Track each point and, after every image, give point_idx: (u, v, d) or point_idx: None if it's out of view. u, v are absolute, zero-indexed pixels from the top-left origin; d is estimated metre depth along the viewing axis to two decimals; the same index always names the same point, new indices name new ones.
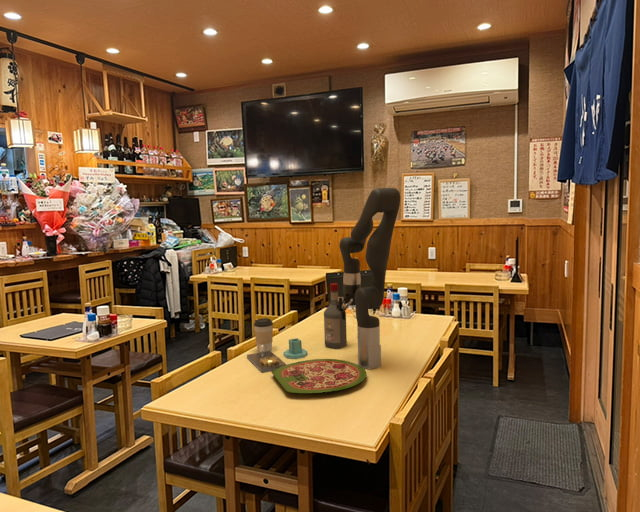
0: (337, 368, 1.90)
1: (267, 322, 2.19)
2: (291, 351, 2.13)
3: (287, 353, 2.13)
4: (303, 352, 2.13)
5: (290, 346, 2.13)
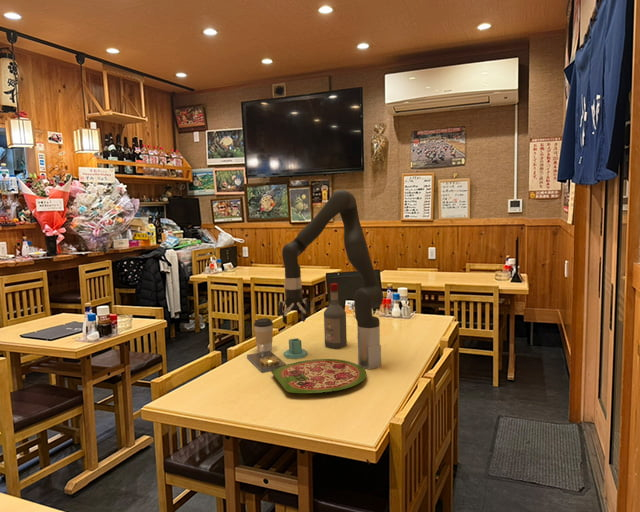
0: (337, 368, 1.90)
1: (267, 322, 2.19)
2: (291, 351, 2.13)
3: (287, 353, 2.13)
4: (303, 352, 2.13)
5: (290, 346, 2.13)
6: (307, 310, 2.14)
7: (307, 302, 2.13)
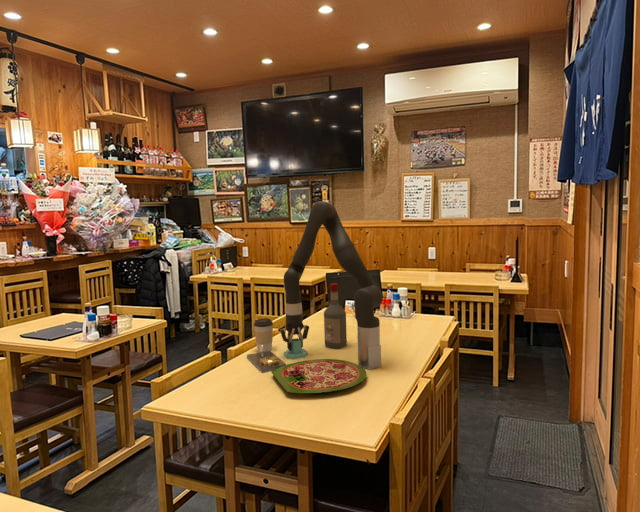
0: (337, 368, 1.90)
1: (267, 322, 2.19)
2: (291, 351, 2.13)
3: (287, 353, 2.13)
4: (303, 352, 2.13)
5: None
6: (304, 337, 2.14)
7: (307, 329, 2.15)
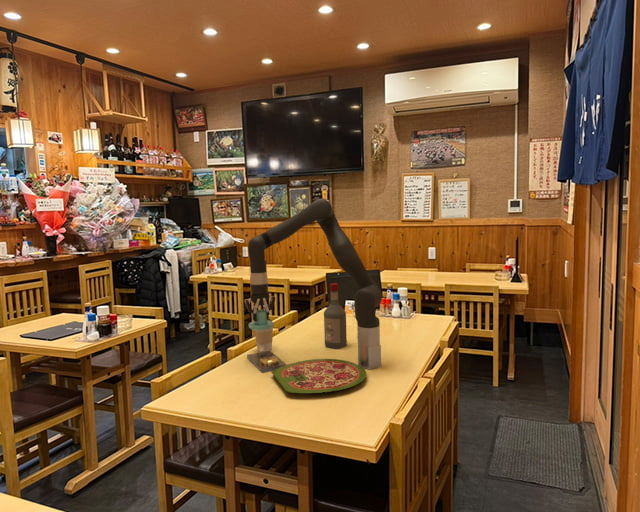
0: (337, 368, 1.90)
1: None
2: (256, 322, 2.07)
3: (252, 324, 2.07)
4: (269, 323, 2.07)
5: None
6: (270, 308, 2.08)
7: (273, 300, 2.08)
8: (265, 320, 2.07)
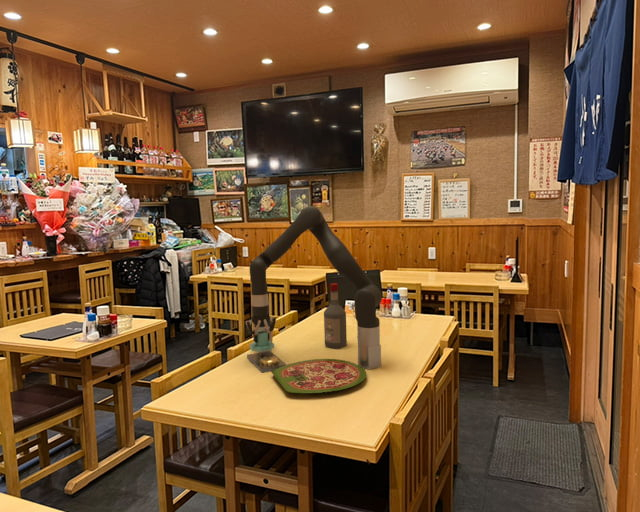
0: (337, 368, 1.90)
1: None
2: (257, 343, 2.08)
3: (253, 345, 2.08)
4: (269, 345, 2.08)
5: None
6: (271, 329, 2.09)
7: (274, 321, 2.10)
8: (266, 341, 2.08)
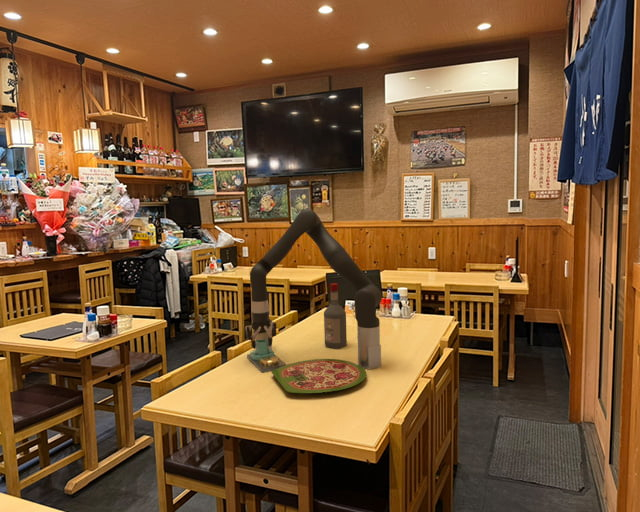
0: (337, 368, 1.90)
1: None
2: (257, 352, 2.08)
3: (253, 354, 2.08)
4: (270, 353, 2.09)
5: (257, 347, 2.09)
6: (273, 334, 2.10)
7: (274, 326, 2.10)
8: (266, 350, 2.08)
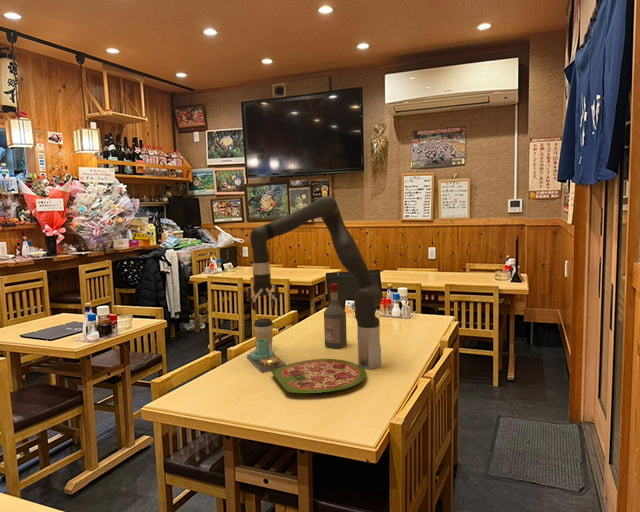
0: (337, 368, 1.90)
1: (267, 322, 2.19)
2: (257, 352, 2.08)
3: (253, 354, 2.08)
4: (270, 353, 2.09)
5: (257, 347, 2.09)
6: (276, 296, 2.09)
7: (276, 288, 2.09)
8: (266, 350, 2.08)
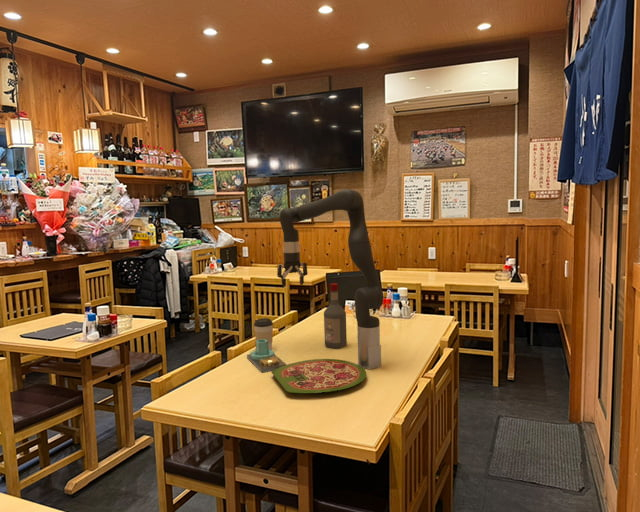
0: (337, 368, 1.90)
1: (267, 322, 2.19)
2: (257, 352, 2.08)
3: (253, 354, 2.08)
4: (270, 353, 2.09)
5: (257, 347, 2.09)
6: (305, 273, 2.23)
7: (305, 266, 2.22)
8: (266, 350, 2.08)
